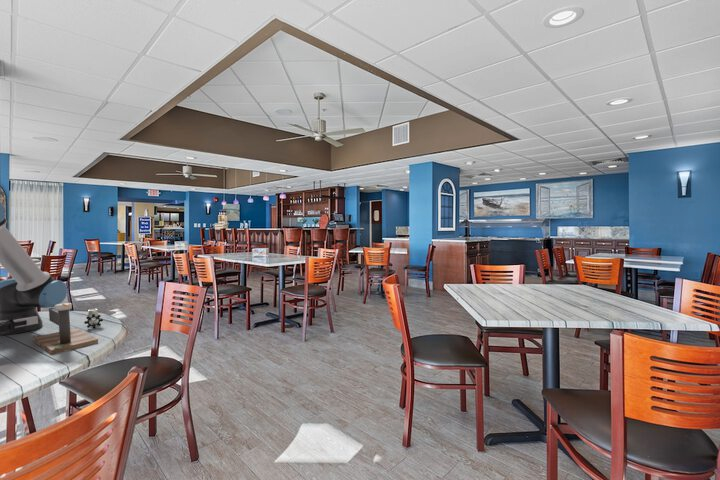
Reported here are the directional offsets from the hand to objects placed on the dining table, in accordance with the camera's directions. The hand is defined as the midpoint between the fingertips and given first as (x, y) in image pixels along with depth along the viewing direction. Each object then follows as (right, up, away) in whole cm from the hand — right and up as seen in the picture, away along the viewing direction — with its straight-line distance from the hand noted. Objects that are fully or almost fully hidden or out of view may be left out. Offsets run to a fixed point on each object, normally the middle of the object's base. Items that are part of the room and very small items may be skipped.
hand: (37, 319), depth 132 cm
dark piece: (+8, -8, +2) cm, 11 cm away
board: (+8, -10, +4) cm, 13 cm away
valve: (+2, -9, +25) cm, 27 cm away
